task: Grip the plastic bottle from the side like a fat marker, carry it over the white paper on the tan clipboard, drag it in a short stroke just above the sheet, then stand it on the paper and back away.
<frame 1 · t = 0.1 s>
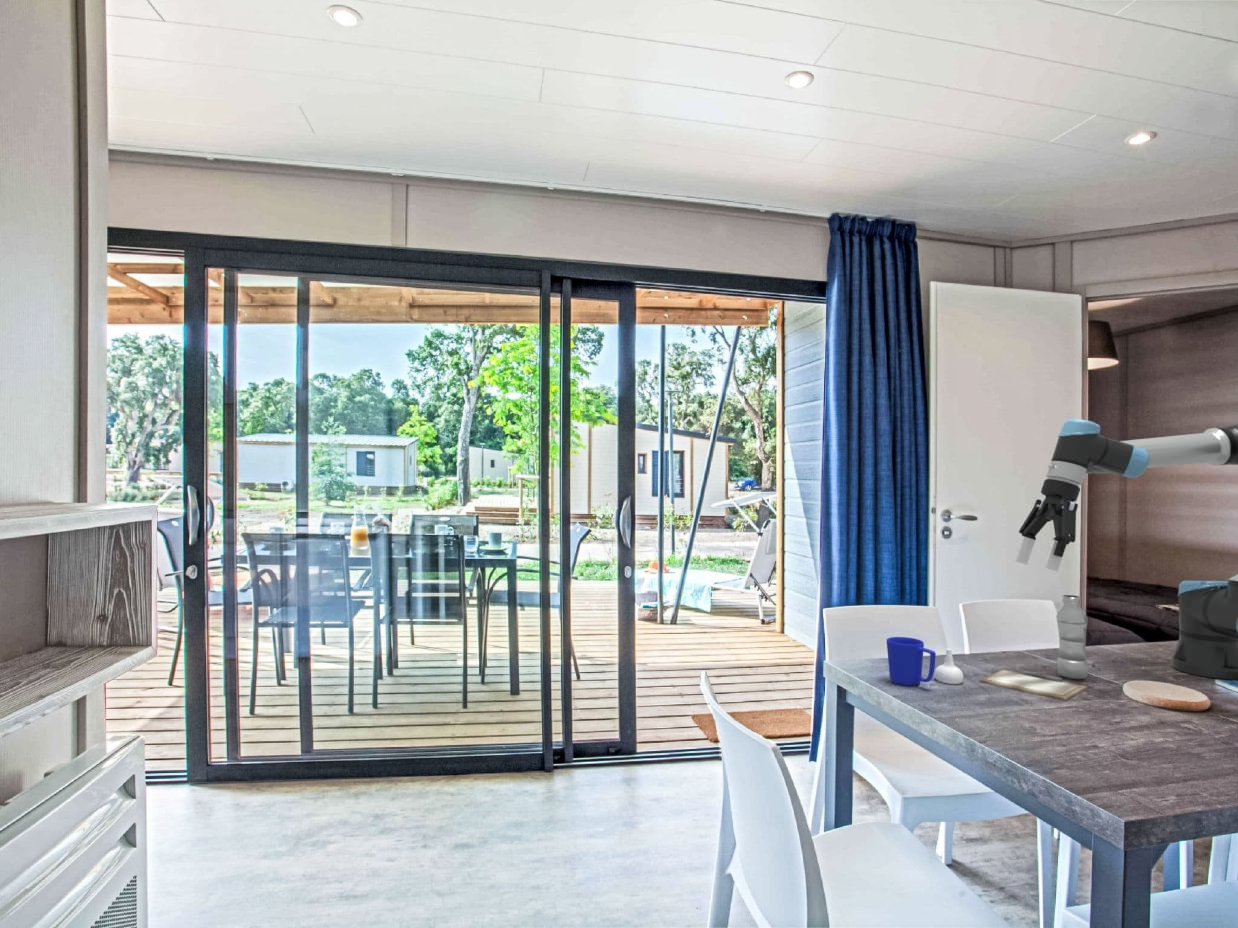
hand: (1035, 566, 163), 28 cm above the table, tool tilted 20°, fingers open, 13 cm apart
garlic bulb: (948, 682, 163), on the table
mug: (912, 685, 160), on the table
plastic bottle: (1072, 678, 166), on the table
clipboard: (1032, 685, 160), on the table
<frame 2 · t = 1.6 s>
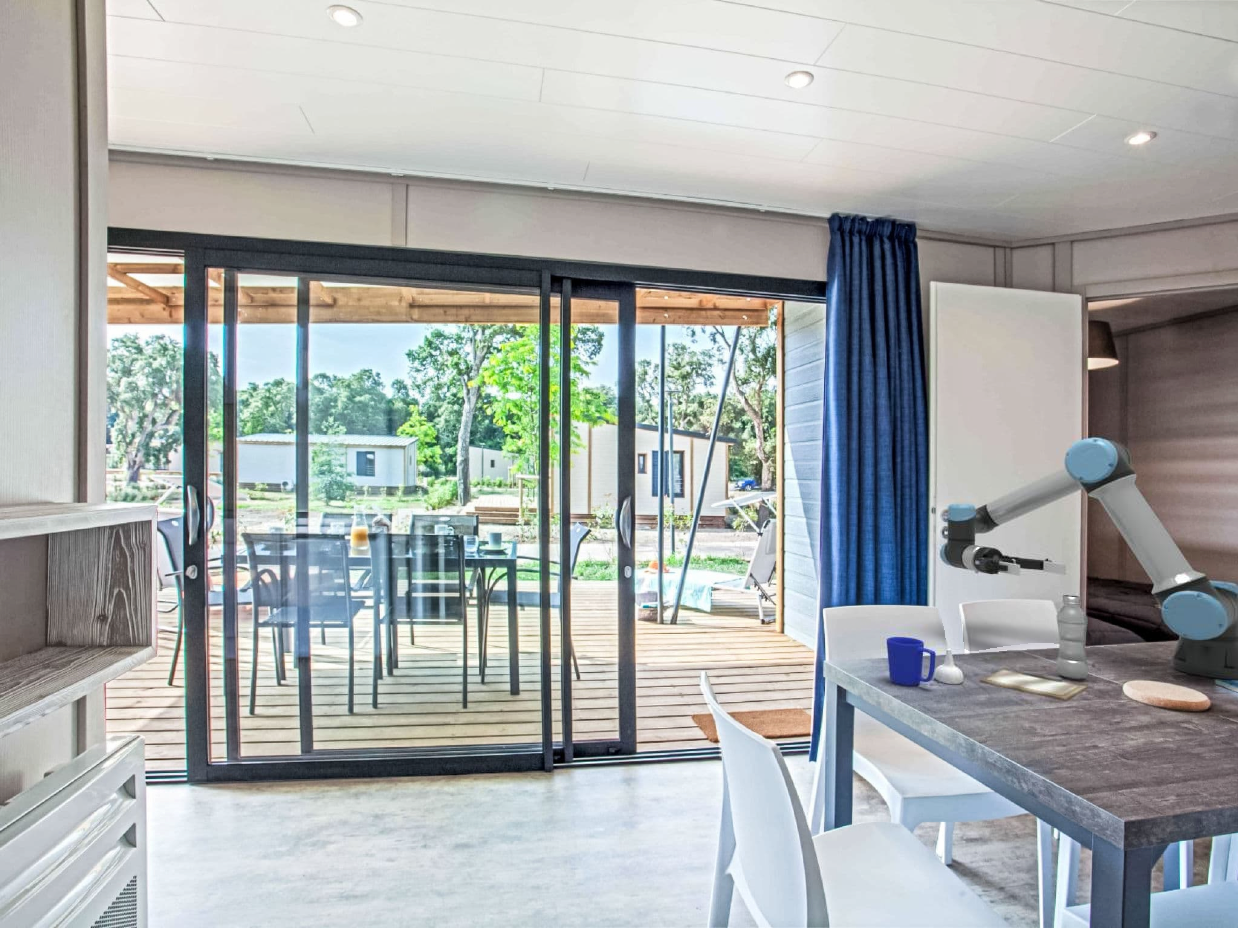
hand: (1042, 569, 175), 25 cm above the table, tool horizontal, fingers open, 13 cm apart
nothing on the table moved.
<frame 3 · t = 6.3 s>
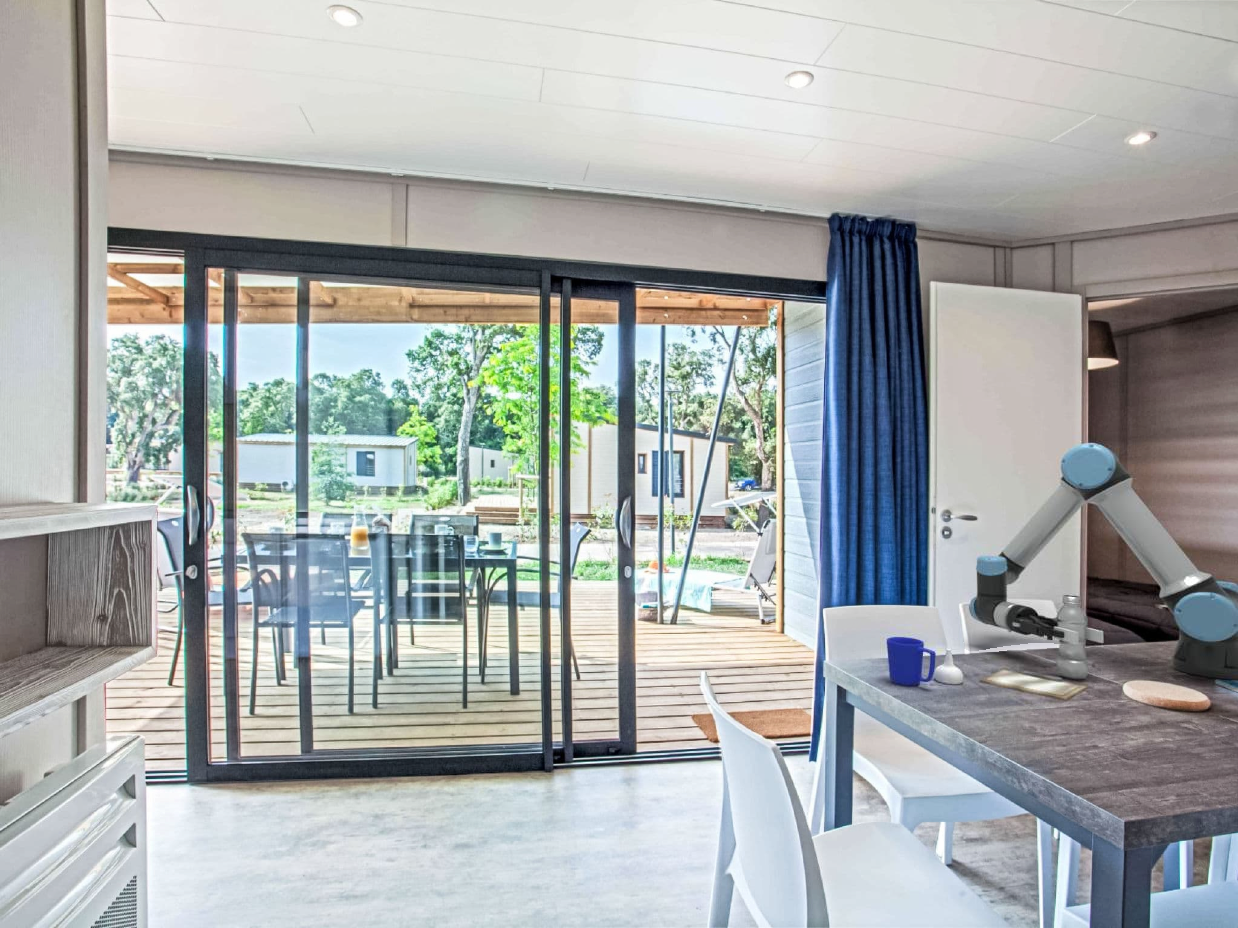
hand: (1089, 637, 161), 11 cm above the table, tool horizontal, fingers closed on plastic bottle, 6 cm apart
plastic bottle: (1072, 678, 166), on the table, touching gripper
everything else where it was.
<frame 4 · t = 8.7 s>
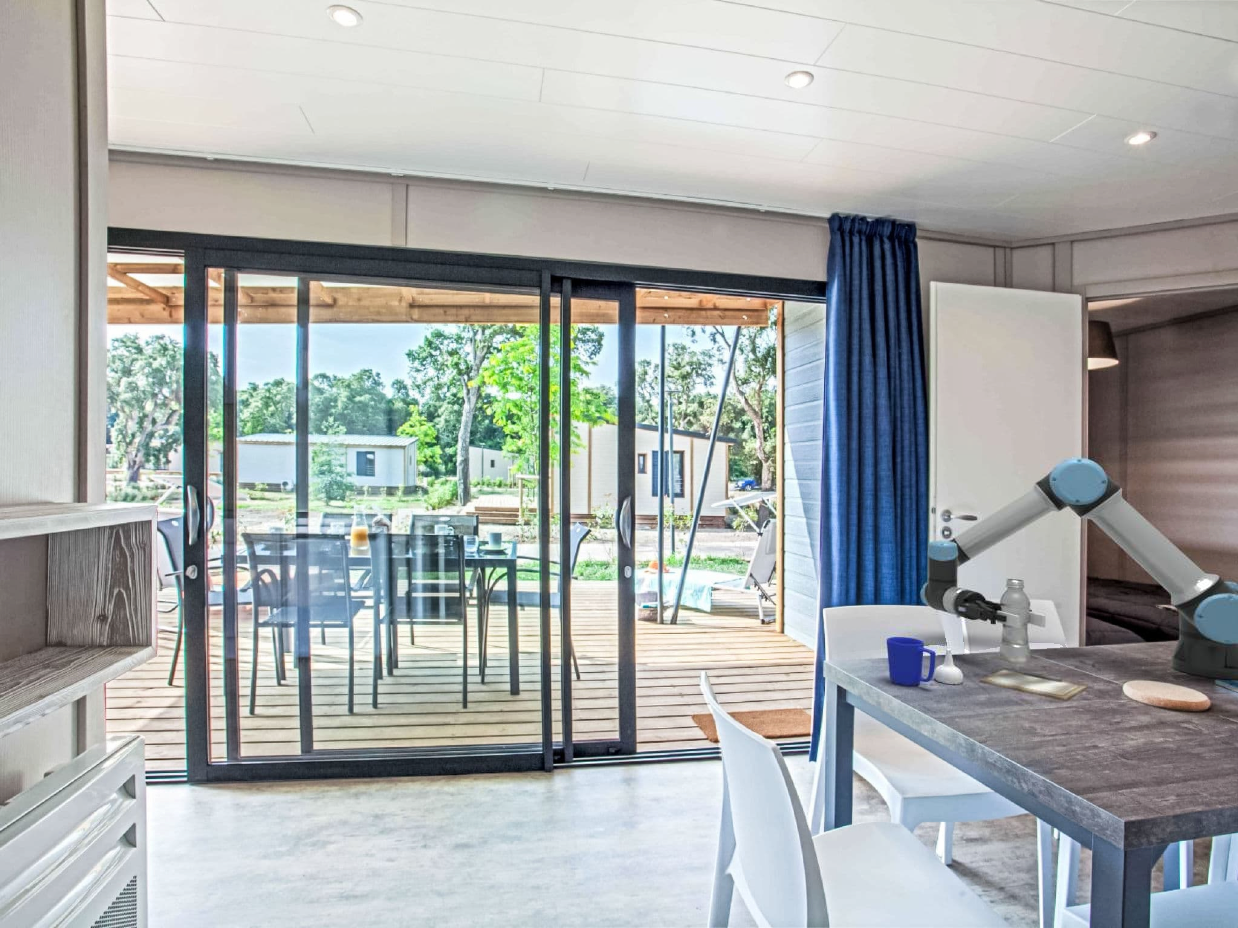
hand: (1031, 621, 159), 15 cm above the table, tool horizontal, fingers closed on plastic bottle, 6 cm apart
plastic bottle: (1014, 663, 164), point 4 cm above the table, touching gripper
everything else where it was.
when the fingers open (12 cm above the table, at t = 11.0 s): plastic bottle stays where it is, resting on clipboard.
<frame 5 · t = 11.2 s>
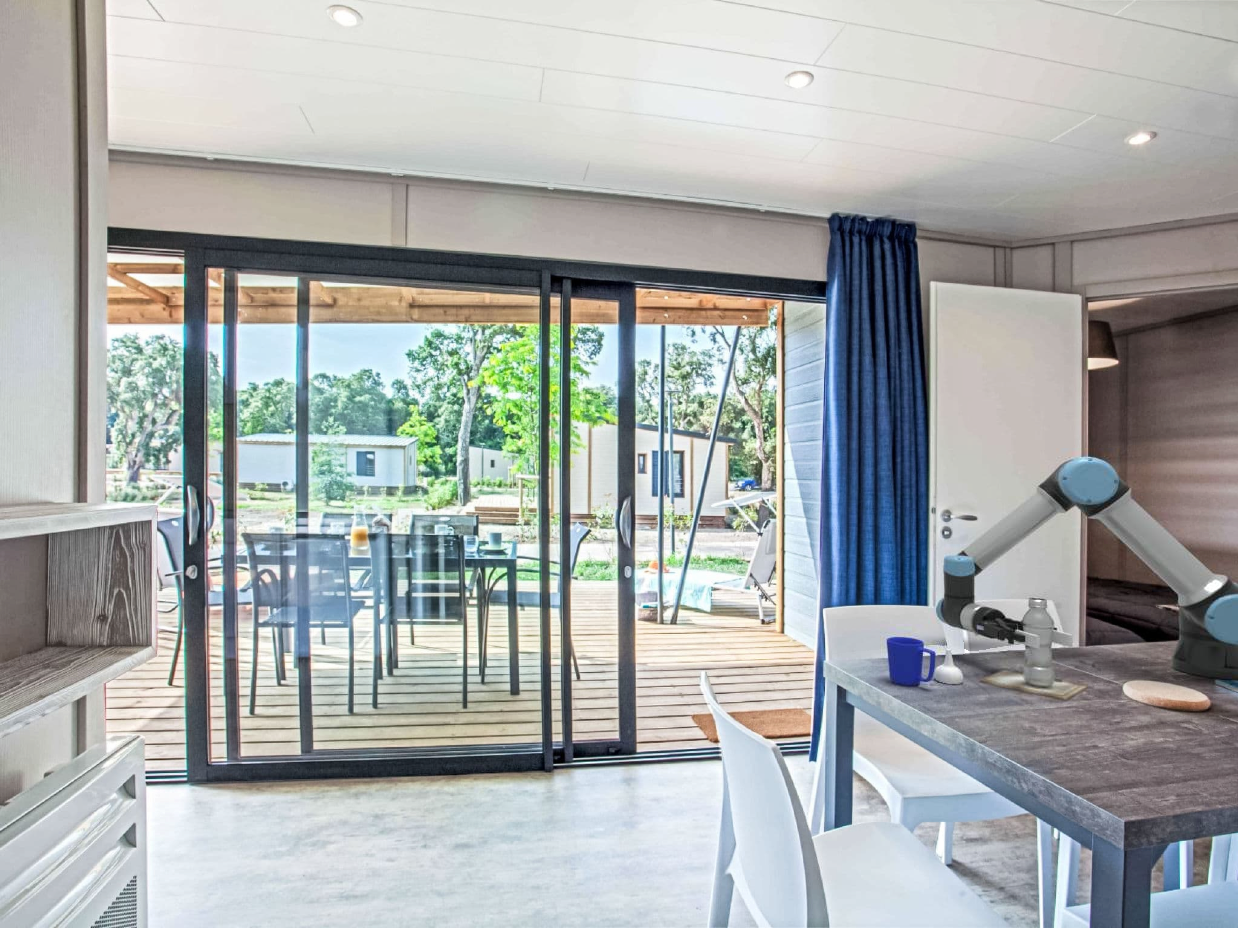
hand: (1054, 641, 153), 12 cm above the table, tool horizontal, fingers open, 8 cm apart
plastic bottle: (1038, 686, 157), point 1 cm above the table, touching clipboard
everything else where it was.
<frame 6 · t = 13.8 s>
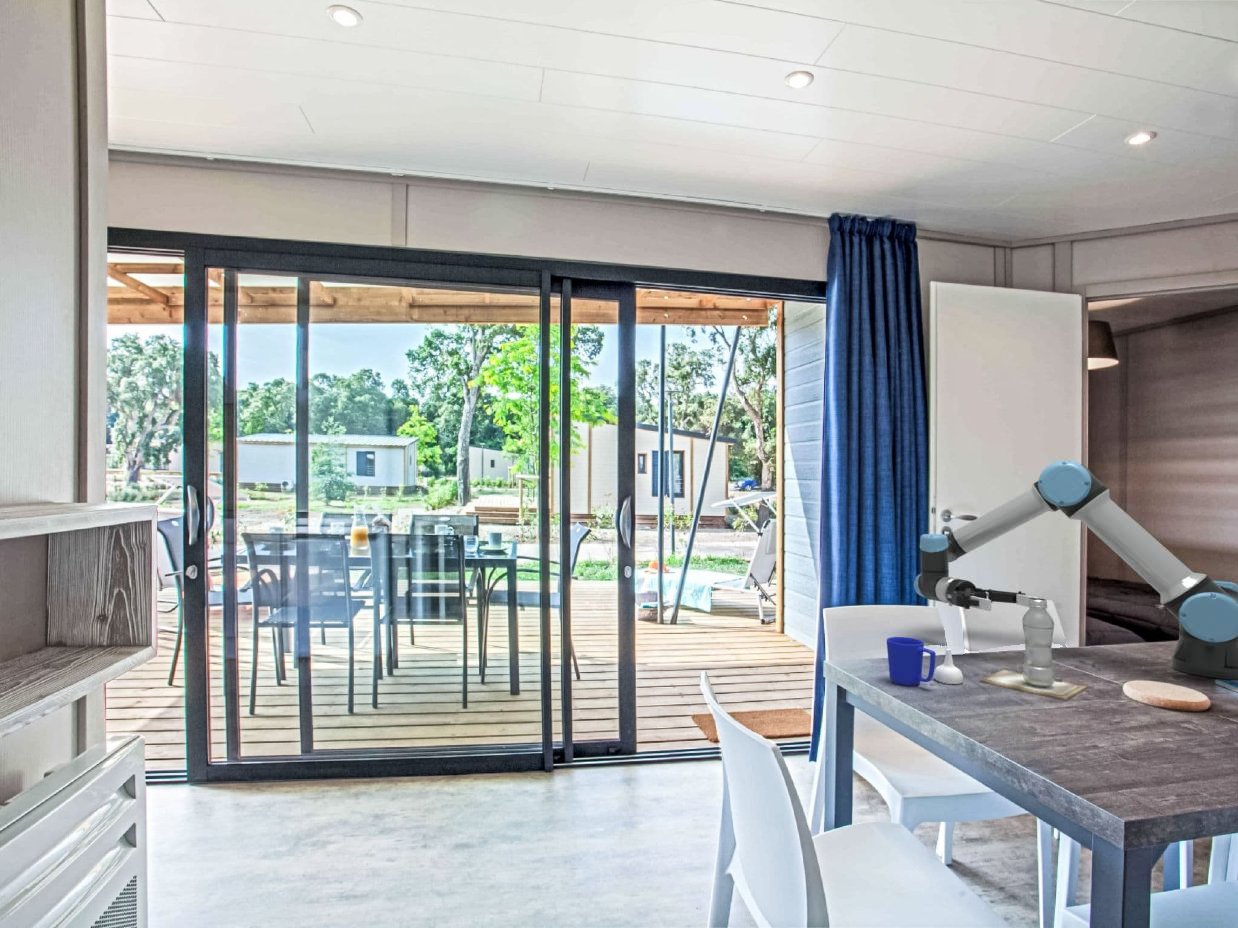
hand: (1013, 604, 170), 17 cm above the table, tool horizontal, fingers open, 13 cm apart
nothing on the table moved.
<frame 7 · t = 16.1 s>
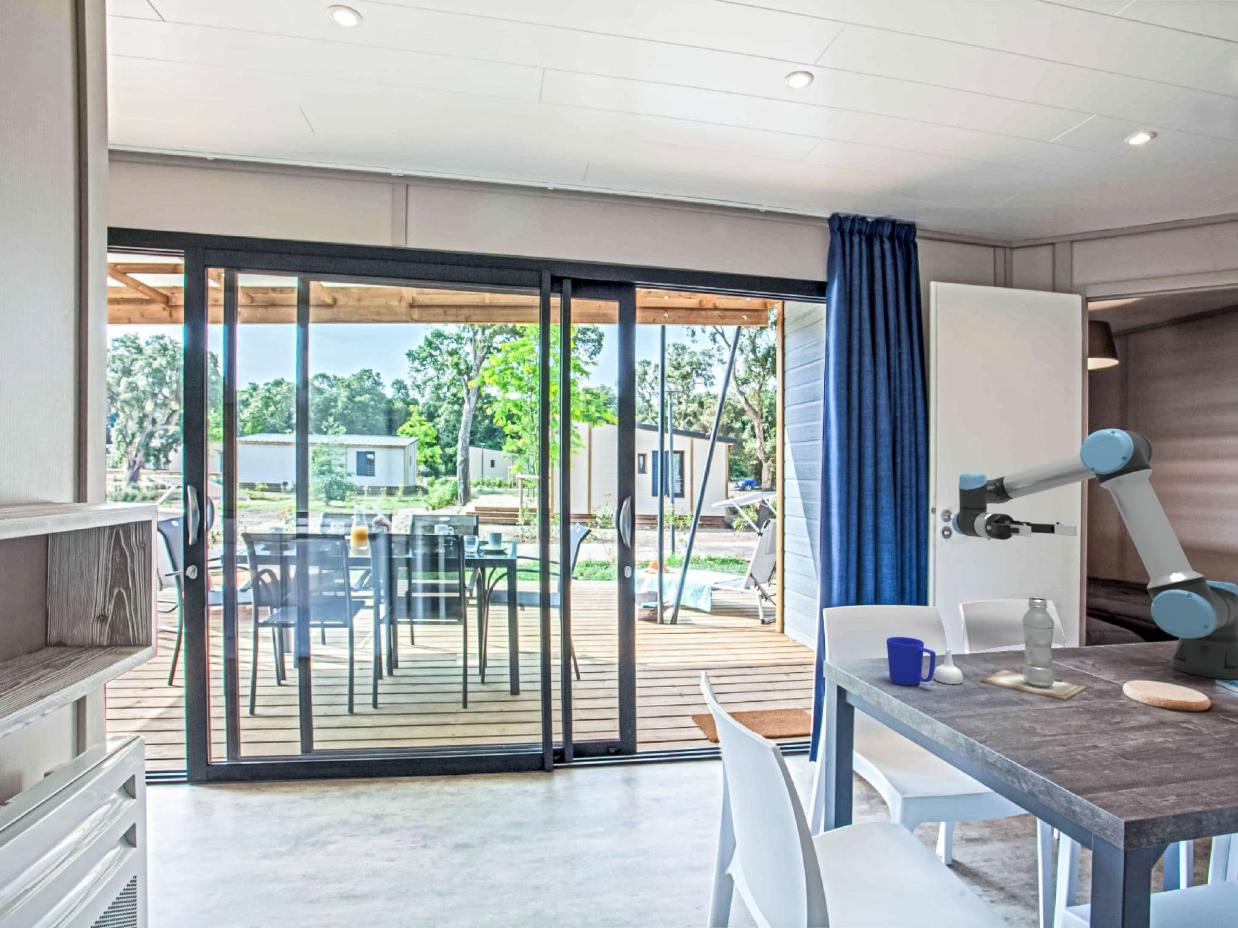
hand: (1052, 531, 179), 35 cm above the table, tool horizontal, fingers open, 13 cm apart
nothing on the table moved.
at the end: plastic bottle inside the target area (2.8 cm from its centre), point 0.5 cm above the table; plastic bottle tilted 0°; the gripper is holding nothing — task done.
